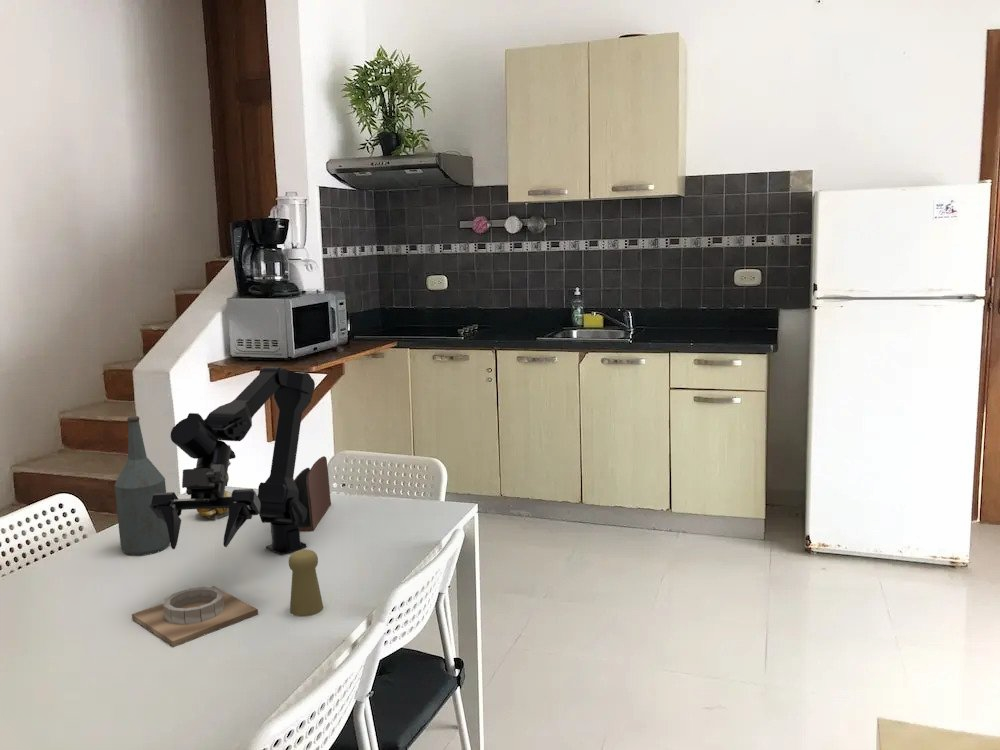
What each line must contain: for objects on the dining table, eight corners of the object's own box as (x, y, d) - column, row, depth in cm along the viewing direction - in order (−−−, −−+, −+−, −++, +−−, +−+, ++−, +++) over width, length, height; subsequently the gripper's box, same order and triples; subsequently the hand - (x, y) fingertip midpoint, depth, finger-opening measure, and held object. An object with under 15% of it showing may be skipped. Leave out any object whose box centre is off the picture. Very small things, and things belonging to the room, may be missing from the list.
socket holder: (132, 619, 152) (130, 601, 151) (214, 590, 163) (212, 573, 163) (173, 646, 141) (171, 627, 140) (258, 614, 152) (256, 596, 152)
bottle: (122, 559, 181) (108, 423, 176) (120, 545, 190) (106, 415, 185) (173, 550, 186) (160, 417, 181) (168, 536, 194) (156, 410, 189)
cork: (315, 617, 150) (311, 559, 149) (284, 615, 152) (279, 557, 150) (328, 602, 156) (324, 546, 154) (298, 601, 157) (294, 545, 156)
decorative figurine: (214, 523, 203) (208, 463, 200) (186, 520, 206) (181, 460, 203) (239, 510, 212) (235, 453, 209) (213, 508, 215) (208, 451, 212)
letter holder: (331, 505, 215) (328, 451, 212) (313, 532, 195) (309, 473, 193) (292, 506, 215) (288, 452, 213) (271, 533, 195) (266, 474, 193)
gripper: (147, 450, 152) (129, 530, 143) (251, 446, 152) (240, 525, 143) (166, 479, 161) (151, 556, 152) (265, 475, 161) (255, 551, 152)
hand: (199, 547), depth 150 cm, fingers open, 9 cm apart
